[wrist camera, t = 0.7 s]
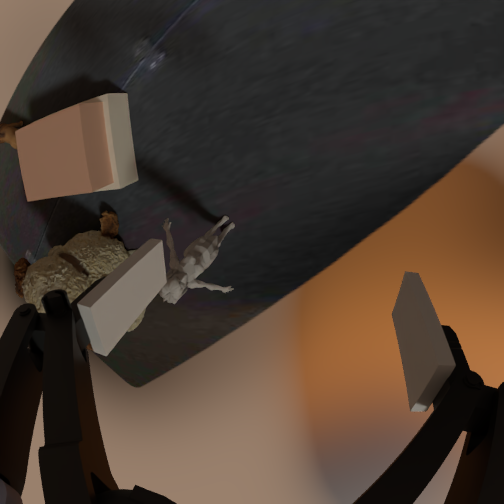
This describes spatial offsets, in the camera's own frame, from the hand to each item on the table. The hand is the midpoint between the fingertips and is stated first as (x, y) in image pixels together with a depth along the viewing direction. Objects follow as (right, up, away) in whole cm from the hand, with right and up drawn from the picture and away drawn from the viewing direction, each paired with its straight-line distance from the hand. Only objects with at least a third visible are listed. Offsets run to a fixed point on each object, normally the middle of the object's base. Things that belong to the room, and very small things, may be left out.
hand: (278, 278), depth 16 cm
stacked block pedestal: (-28, +19, +28) cm, 44 cm away
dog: (-28, +1, +37) cm, 46 cm away
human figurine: (-6, +5, +30) cm, 31 cm away
